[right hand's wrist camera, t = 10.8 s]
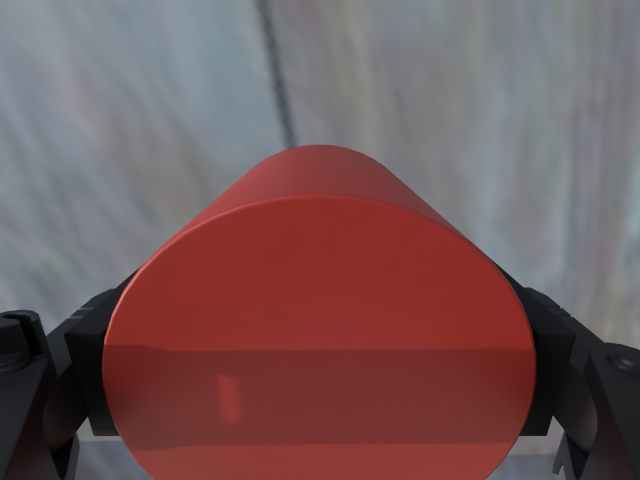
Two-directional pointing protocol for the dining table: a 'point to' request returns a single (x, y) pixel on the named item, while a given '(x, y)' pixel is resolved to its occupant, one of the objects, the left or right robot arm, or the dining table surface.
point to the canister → (319, 336)
